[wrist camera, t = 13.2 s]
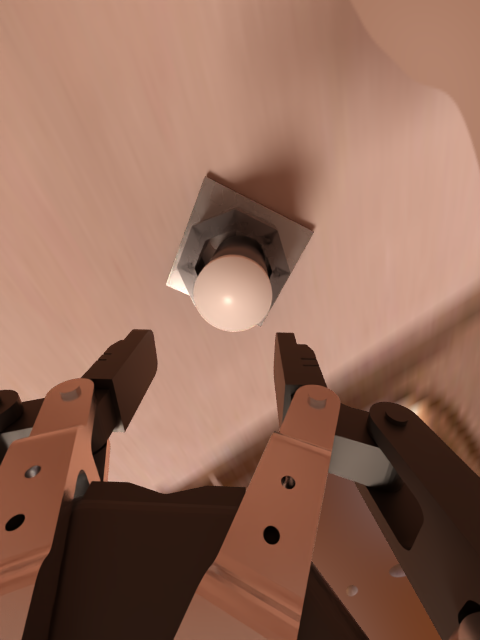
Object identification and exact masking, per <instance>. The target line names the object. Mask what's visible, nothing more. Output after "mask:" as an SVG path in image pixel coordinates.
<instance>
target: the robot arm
mask: <svg viewBox="0 0 480 640" xmlns="http://www.w3.org/2000/svg"><path fill="white" fill-rule="evenodd" d="M156 371H157V355H156V348H155V341H154V335H153V332H152V330H142V329H133V330H132V331H131V332H130V333H129V334H128V336H127V337H126V338H125V339H124V340H120V341H118V342H116V343H115V344H113V345H111V346H110V347H109V348H108V349H107V350H106V351H105V352H104V355H102V356H101V357H100V358H99V359H98V361H96V362H95V363H94V364H93V365H92V366H91V368H90V369H89V370H88V371H87V372H86V373H85V374H84V375H83V376H82V377H81V378H77V379H71V380H68V381H65V382H62V383H60V384H58V385H57V386H55V387H53V388H52V389H51V390H50V391H49V392H48V393H47V395H46V397H45V398H42V399H37V400H31V401H26V402H21V400H20V397H19V395H18V393H17V392H16V391H13V390H0V640H369V638H368V637H367V636H366V634H365V633H364V631H363V630H362V629H361V627H360V626H359V625H358V623H357V622H356V621H355V619H354V618H353V617H352V615H351V614H350V612H349V611H348V610H347V608H346V607H345V606H344V604H343V603H342V602H341V600H340V599H339V598H338V596H337V595H336V594H335V592H334V591H333V590H332V588H331V587H330V585H329V584H328V583H327V581H326V580H325V579H324V577H323V576H322V575H321V573H320V572H319V571H318V569H317V568H316V566H315V565H314V564H313V562H312V561H311V560H312V554H313V549H314V544H315V539H316V533H317V528H318V523H319V517H320V512H321V507H322V501H323V496H324V491H325V485H326V480H327V474H328V473H331V474H335V475H337V476H340V477H343V478H346V479H349V480H352V481H354V482H355V484H356V486H357V488H358V490H359V492H360V493H361V495H362V497H363V499H364V500H365V503H366V504H367V506H368V508H369V510H370V511H371V513H372V515H373V517H374V519H375V520H376V522H377V524H378V526H379V528H380V529H381V531H382V533H383V535H384V537H385V538H386V540H387V542H388V544H389V546H390V547H391V549H392V551H393V553H394V555H395V556H396V558H397V560H398V562H399V563H400V565H401V567H402V569H403V571H404V572H405V574H406V576H407V578H408V580H409V581H410V583H411V585H412V587H413V589H414V590H415V592H416V594H417V596H418V597H419V599H420V601H421V603H422V604H423V606H424V608H425V610H426V612H427V614H428V615H429V617H430V619H431V621H432V622H433V624H434V626H435V628H436V630H437V631H438V633H439V635H440V637H441V639H442V640H480V477H479V476H478V475H477V474H476V473H474V472H473V471H472V470H471V469H470V468H469V467H468V466H467V465H466V464H465V463H464V462H463V461H462V460H461V459H460V458H459V457H458V456H457V455H456V454H455V453H454V452H453V451H452V450H451V449H450V448H449V447H448V446H447V445H446V444H445V443H444V442H443V441H442V440H441V439H440V438H439V437H438V436H437V435H436V434H435V433H434V432H433V431H432V430H431V429H430V428H429V427H428V426H427V425H426V424H425V423H424V422H423V421H422V420H421V419H420V418H419V417H418V416H417V415H416V414H415V413H414V412H412V411H411V410H409V409H408V408H406V407H404V406H401V405H399V404H395V403H391V402H379V403H376V404H374V405H372V407H371V408H370V411H369V412H367V411H363V410H359V409H355V408H351V407H348V406H346V405H344V404H342V403H341V402H340V399H339V397H338V396H337V394H335V393H334V392H333V391H332V390H330V389H328V388H327V386H326V383H325V380H324V378H323V375H322V372H321V370H320V367H319V364H318V362H317V360H316V356H315V354H314V351H313V350H312V349H311V348H309V347H308V346H307V345H305V344H297V343H296V339H295V336H294V333H276V338H275V353H274V382H275V391H276V400H277V410H278V419H279V428H280V430H279V432H276V431H274V432H273V434H272V435H271V437H270V439H269V442H268V444H267V446H266V448H265V451H264V453H263V455H262V457H261V460H260V462H259V464H258V466H257V468H256V471H255V473H254V475H253V477H252V480H251V482H250V484H249V486H248V489H247V491H246V487H224V486H204V487H199V488H194V489H189V490H185V491H180V492H175V493H170V494H162V493H159V492H156V491H153V490H150V489H147V488H144V487H141V486H138V485H135V484H132V483H129V482H108V471H109V458H110V441H109V437H110V435H111V433H112V432H125V431H126V429H127V427H128V425H129V423H130V421H131V420H132V418H133V416H134V414H135V412H136V410H137V408H138V406H139V405H140V403H141V401H142V399H143V397H144V395H145V393H146V391H147V390H148V388H149V386H150V384H151V382H152V380H153V378H154V376H155V374H156Z"/></svg>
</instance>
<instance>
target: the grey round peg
mask: <svg viewBox="0 0 480 640" xmlns="http://www.w3.org/2000/svg"><path fill="white" fill-rule="evenodd" d="M194 301H195V305H196V308H197V310H198V312H199V313H200V315H201V316H202V317H203V318H204V319H205V320H206V321H207V322H208V323H209V324H211V325H212V326H214V327H216V328H218V329H221V330H224V331H231V332H237V331H243V330H247V329H250V328H252V327H254V326H255V325H257V324H258V323H260V322H261V321H262V320H263V319H264V317H265V316H266V315H267V313H268V311H269V309H270V306H271V302H272V288H271V283H270V280H269V277H268V273H267V267H266V260H265V255H264V252H263V249H262V248H261V246H260V245H259V244H258V243H257V242H256V241H255V240H254V239H252V238H250V237H248V236H243V235H236V236H232V237H229V238H227V239H226V240H224V241H223V242H222V243H221V244H220V245H219V247H218V248H217V250H216V251H215V253H214V255H213V256H212V258H211V259H210V261H209V263H208V264H207V265H206V266H205V267H204V268H203V269H202V271H201V272H200V274H199V275H198V277H197V279H196V282H195V285H194Z"/></svg>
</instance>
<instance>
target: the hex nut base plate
mask: <svg viewBox="0 0 480 640" xmlns="http://www.w3.org/2000/svg"><path fill="white" fill-rule="evenodd" d="M313 233H314V232H313V231H312V230H310V229H308V228H306V227H304V226H302V225H300V224H298V223H296V222H294V221H292V220H290V219H288V218H286V217H284V216H282V215H280V214H278V213H276V212H274V211H272V210H270V209H269V208H267V207H265V206H263V205H261V204H259V203H257V202H255V201H253V200H251V199H249V198H247V197H245V196H243V195H241V194H239V193H237V192H235V191H233V190H231V189H229V188H227V187H225V186H223V185H221V184H219V183H218V182H216V181H214V180H212V179H210V178H208V177H206V176H205V178H204V181H203V183H202V186H201V189H200V192H199V194H198V197H197V200H196V203H195V205H194V208H193V211H192V214H191V216H190V219H189V222H188V225H187V228H186V230H185V233H184V236H183V239H182V241H181V244H180V247H179V250H178V252H177V255H176V258H175V261H174V263H173V266H172V269H171V272H170V275H169V277H168V280H167V283H166V285H167V286H169V287H172V288H174V289H176V290H179V291H181V292H183V293H185V294H188V295H190V297H191V299H192V302H193V304H194V306H196V305H195V301H194V285H195V282H196V279H197V277H198V275H199V274H200V272H201V271H202V269H203V268H204V267H205V266H206V265H207V264H208V263H209V261H210V259H211V258H212V256H213V255H214V253H215V251H216V250H217V248H218V247H219V245H220V244H221V243H222V242H223V241H224V240H226V239H227V238H229V237H232V236H236V235H243V236H248V237H250V238H252V239H254V240H255V241H256V242H257V243H258V244H259V245H260V246H261V248H262V249H263V252H264V255H265V260H266V267H267V273H268V277H269V280H270V283H271V288H272V302H271V306H270V309H269V311H270V310H271V308H272V306H273V304H274V303H275V301H276V299H277V297H278V295H279V294H280V292H281V290H282V288H283V286H284V285H285V283H286V281H287V279H288V278H289V276H290V274H291V272H292V270H293V269H294V267H295V265H296V263H297V261H298V260H299V258H300V256H301V254H302V252H303V251H304V249H305V247H306V245H307V244H308V242H309V240H310V238H311V236H312V235H313ZM269 311H268V313H269ZM268 313H267V315H268ZM267 315H266V316H265V317H264V319H263V320H262V321H261V322H260V323H258V324H257V325H258V326H260V327H261V326H262V324H263V322H264V320H265V319H266V317H267Z"/></svg>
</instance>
